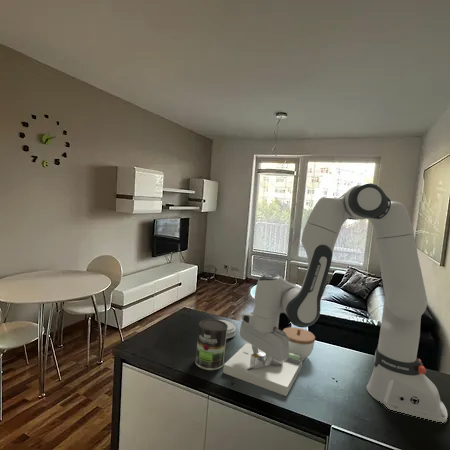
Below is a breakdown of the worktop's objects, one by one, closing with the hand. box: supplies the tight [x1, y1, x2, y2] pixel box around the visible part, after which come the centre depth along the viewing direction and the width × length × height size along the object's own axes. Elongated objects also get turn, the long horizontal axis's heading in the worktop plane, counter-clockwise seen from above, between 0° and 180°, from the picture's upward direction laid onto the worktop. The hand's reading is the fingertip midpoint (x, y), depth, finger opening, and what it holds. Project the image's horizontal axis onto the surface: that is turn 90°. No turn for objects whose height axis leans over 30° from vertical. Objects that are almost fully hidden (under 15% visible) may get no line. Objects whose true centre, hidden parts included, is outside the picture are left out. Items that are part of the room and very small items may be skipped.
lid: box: [218, 319, 237, 340], centre depth 138 cm, size 13×13×5 cm
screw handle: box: [250, 352, 283, 369], centre depth 109 cm, size 13×6×4 cm, turn 122°
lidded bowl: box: [282, 326, 316, 361], centre depth 124 cm, size 13×13×11 cm
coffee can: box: [194, 318, 228, 371], centre depth 112 cm, size 10×10×14 cm
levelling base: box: [222, 342, 303, 397], centre depth 111 cm, size 22×20×5 cm
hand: (260, 361), depth 107 cm, fingers open, 3 cm apart
